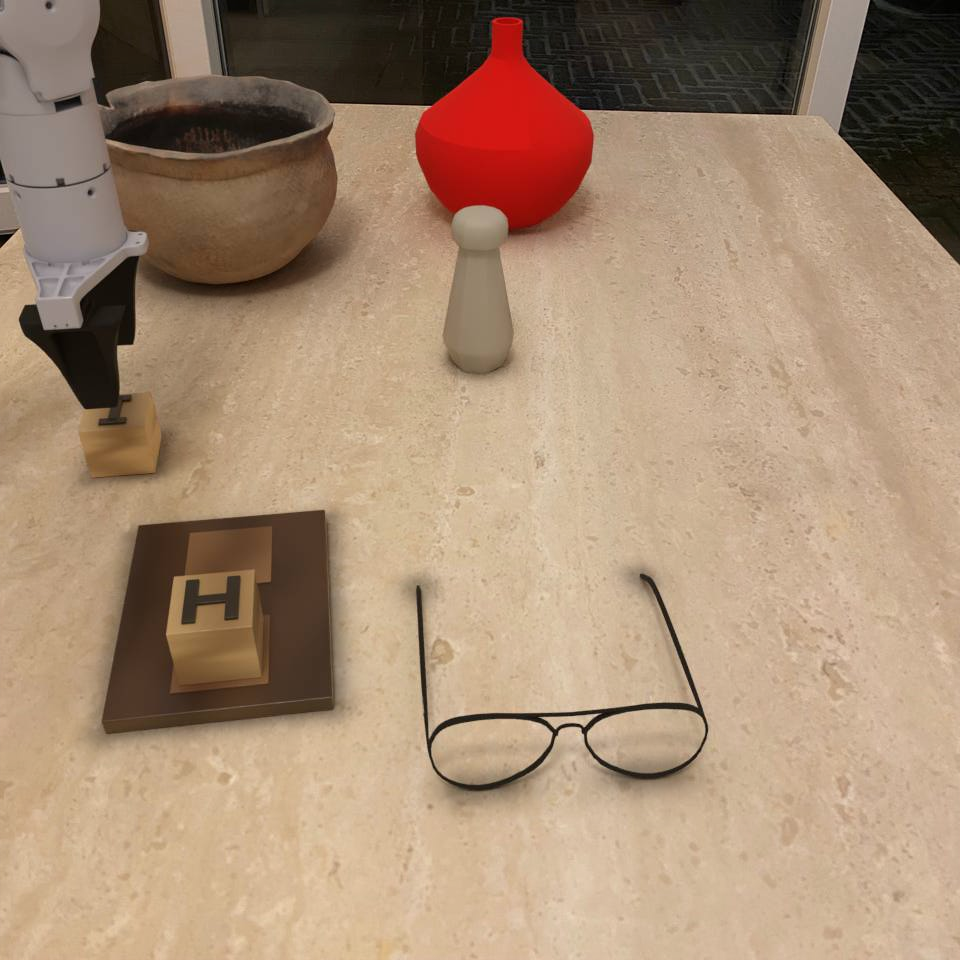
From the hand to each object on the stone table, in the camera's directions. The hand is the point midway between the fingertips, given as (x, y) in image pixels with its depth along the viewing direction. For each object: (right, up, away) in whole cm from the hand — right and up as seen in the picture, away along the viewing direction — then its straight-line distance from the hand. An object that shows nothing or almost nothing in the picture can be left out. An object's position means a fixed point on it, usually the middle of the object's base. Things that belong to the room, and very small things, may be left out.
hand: (110, 373), depth 65 cm
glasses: (+28, -18, -9) cm, 34 cm away
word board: (+9, -15, -6) cm, 18 cm away
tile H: (+10, -17, -9) cm, 21 cm away
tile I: (-1, -5, +7) cm, 9 cm away
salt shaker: (+24, +3, +18) cm, 30 cm away
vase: (+27, +22, +42) cm, 54 cm away
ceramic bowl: (0, +14, +32) cm, 35 cm away
